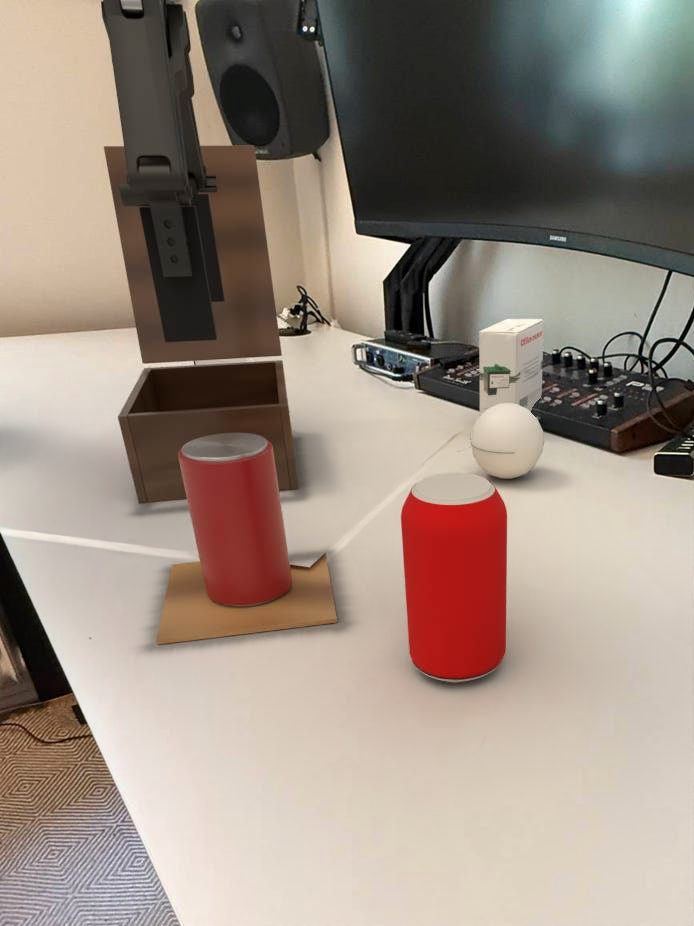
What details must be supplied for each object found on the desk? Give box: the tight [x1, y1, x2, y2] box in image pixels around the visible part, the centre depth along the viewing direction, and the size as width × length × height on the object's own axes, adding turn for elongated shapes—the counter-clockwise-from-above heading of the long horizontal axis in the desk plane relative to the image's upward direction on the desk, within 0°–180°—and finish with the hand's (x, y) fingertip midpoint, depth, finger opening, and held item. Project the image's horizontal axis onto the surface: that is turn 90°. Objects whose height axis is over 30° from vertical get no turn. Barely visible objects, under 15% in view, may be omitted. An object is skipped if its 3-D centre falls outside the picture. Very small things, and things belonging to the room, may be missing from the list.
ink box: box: [478, 318, 545, 421], centre depth 93 cm, size 9×5×12 cm, turn 156°
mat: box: [156, 552, 338, 645], centre depth 60 cm, size 12×12×1 cm
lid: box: [103, 144, 283, 365], centre depth 84 cm, size 20×15×1 cm
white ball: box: [455, 403, 545, 480], centre depth 79 cm, size 10×7×7 cm
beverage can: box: [400, 472, 508, 683], centre depth 48 cm, size 6×6×12 cm
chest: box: [117, 359, 300, 505], centre depth 81 cm, size 20×15×9 cm
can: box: [178, 433, 292, 607], centre depth 57 cm, size 6×6×11 cm
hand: (198, 319), depth 50 cm, fingers open, 13 cm apart
